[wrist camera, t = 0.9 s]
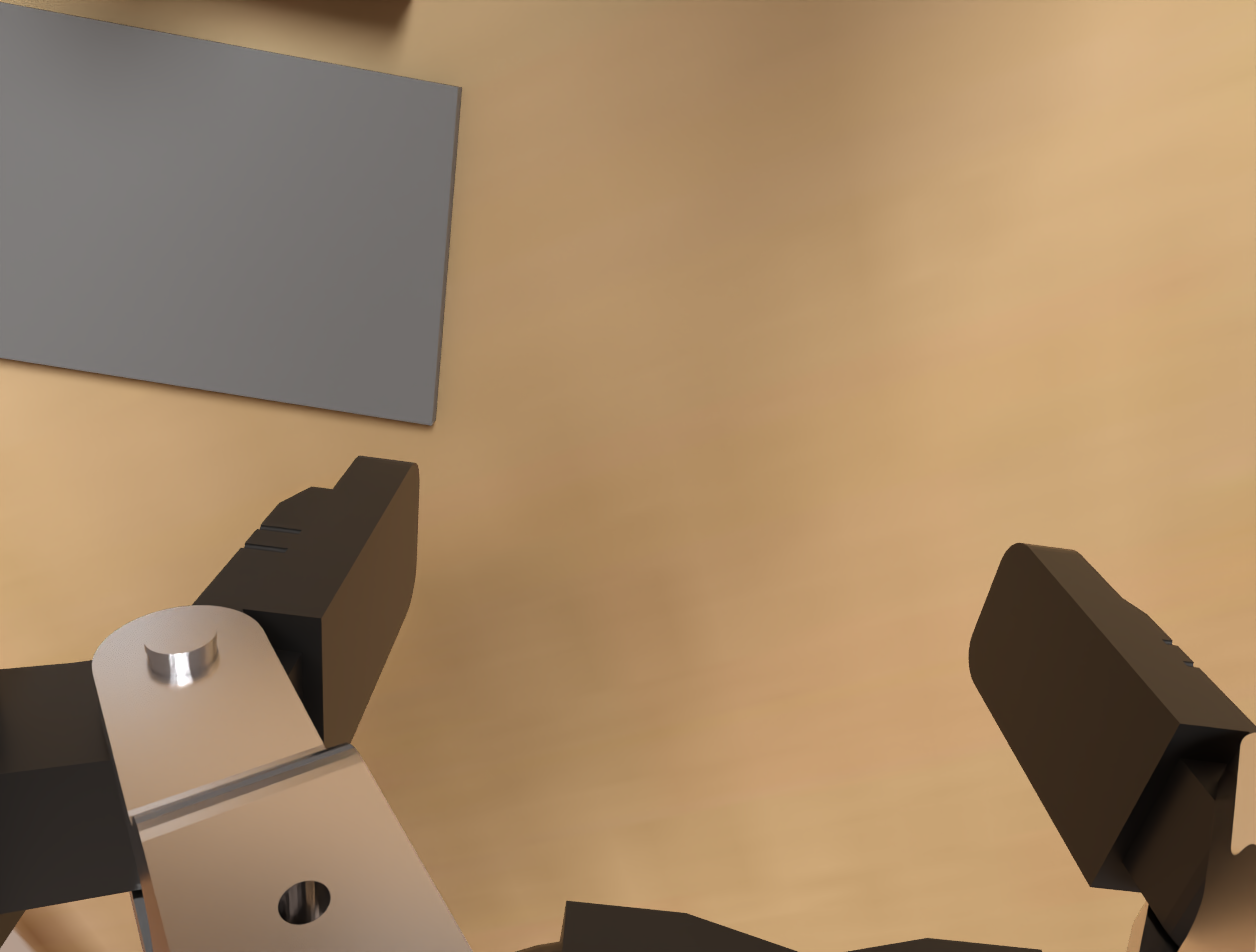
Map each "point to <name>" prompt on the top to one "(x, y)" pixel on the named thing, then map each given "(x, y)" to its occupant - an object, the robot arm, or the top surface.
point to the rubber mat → (222, 216)
